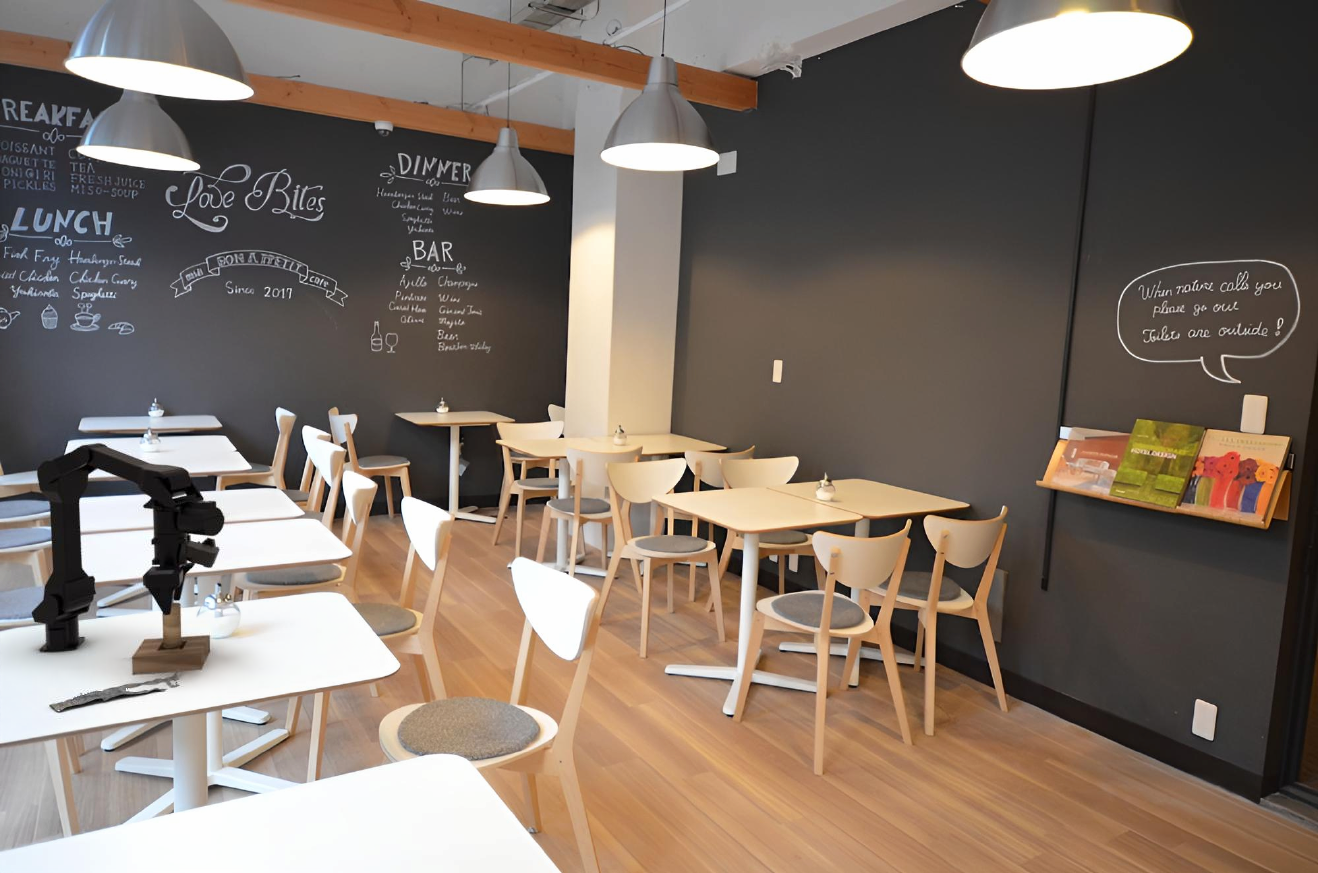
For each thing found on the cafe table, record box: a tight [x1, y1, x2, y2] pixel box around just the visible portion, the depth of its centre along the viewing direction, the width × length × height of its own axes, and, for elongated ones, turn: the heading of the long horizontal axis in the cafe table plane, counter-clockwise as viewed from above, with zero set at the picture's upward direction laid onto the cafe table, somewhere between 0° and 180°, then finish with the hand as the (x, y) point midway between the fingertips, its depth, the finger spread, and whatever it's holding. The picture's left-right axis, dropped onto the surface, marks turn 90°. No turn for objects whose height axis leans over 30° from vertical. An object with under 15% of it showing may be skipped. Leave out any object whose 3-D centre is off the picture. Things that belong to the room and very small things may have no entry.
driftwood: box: [50, 671, 181, 712], centre depth 158 cm, size 21×7×2 cm, turn 129°
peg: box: [161, 602, 182, 650], centre depth 172 cm, size 3×3×12 cm
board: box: [131, 634, 211, 675], centre depth 173 cm, size 10×12×4 cm
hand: (172, 607), depth 172 cm, fingers open, 9 cm apart
